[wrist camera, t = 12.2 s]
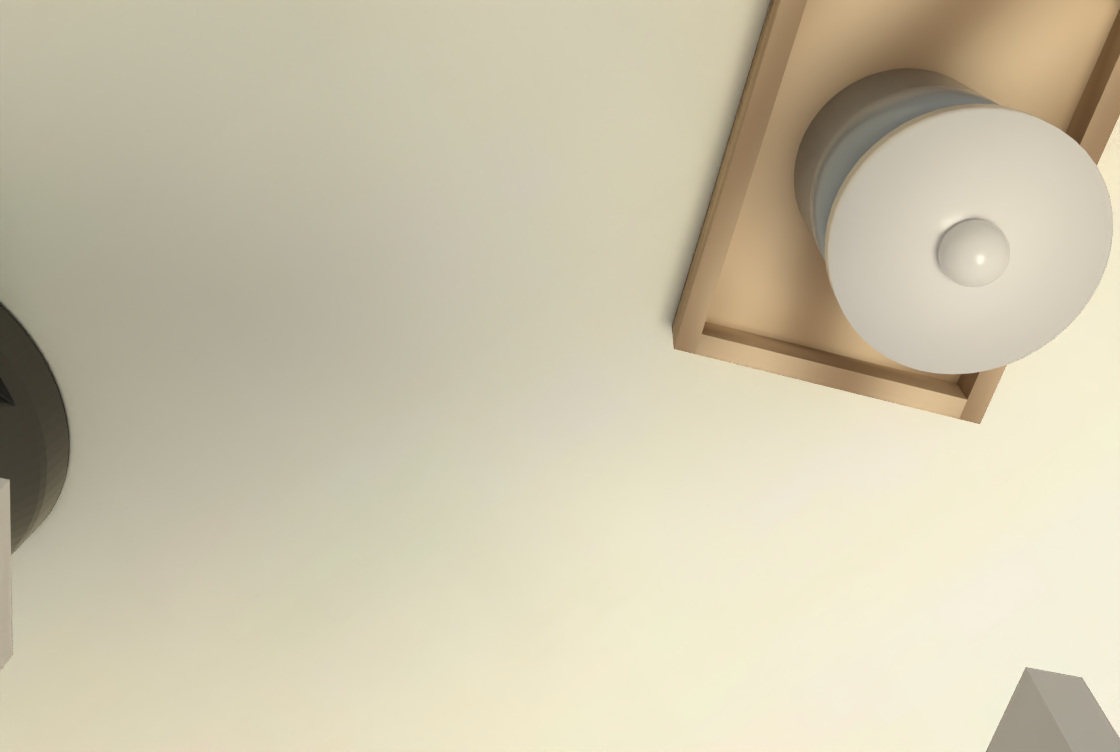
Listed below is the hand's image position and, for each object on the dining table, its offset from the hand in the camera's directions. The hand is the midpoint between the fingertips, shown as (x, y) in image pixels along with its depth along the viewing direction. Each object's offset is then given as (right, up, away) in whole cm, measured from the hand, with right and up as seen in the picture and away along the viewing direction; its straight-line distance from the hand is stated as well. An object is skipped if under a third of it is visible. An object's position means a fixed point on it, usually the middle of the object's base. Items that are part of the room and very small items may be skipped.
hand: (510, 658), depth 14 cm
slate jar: (+12, +11, +24) cm, 29 cm away
